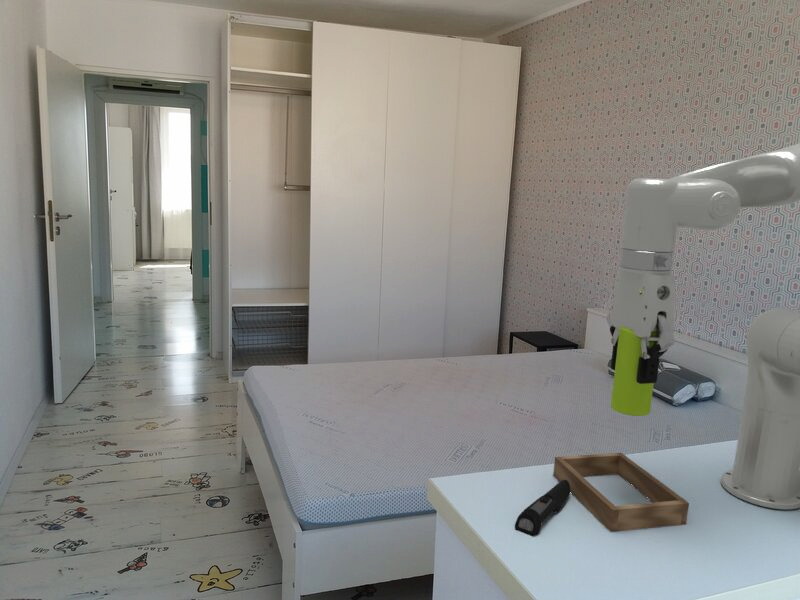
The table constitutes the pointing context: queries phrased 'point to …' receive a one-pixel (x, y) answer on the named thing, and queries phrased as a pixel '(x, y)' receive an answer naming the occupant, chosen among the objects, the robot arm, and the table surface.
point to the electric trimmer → (542, 509)
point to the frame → (637, 516)
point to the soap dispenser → (630, 377)
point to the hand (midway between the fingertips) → (632, 374)
